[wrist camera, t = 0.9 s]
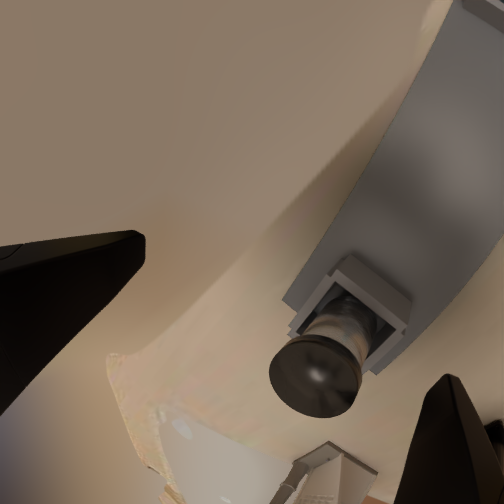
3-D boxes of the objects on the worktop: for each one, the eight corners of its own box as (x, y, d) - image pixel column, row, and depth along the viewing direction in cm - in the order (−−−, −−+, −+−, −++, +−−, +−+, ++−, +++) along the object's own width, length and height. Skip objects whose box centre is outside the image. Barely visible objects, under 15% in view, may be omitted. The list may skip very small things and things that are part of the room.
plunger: (395, 334, 16) (373, 404, 11) (340, 361, 18) (302, 425, 13) (355, 277, 16) (319, 330, 11) (303, 311, 19) (253, 364, 14)
